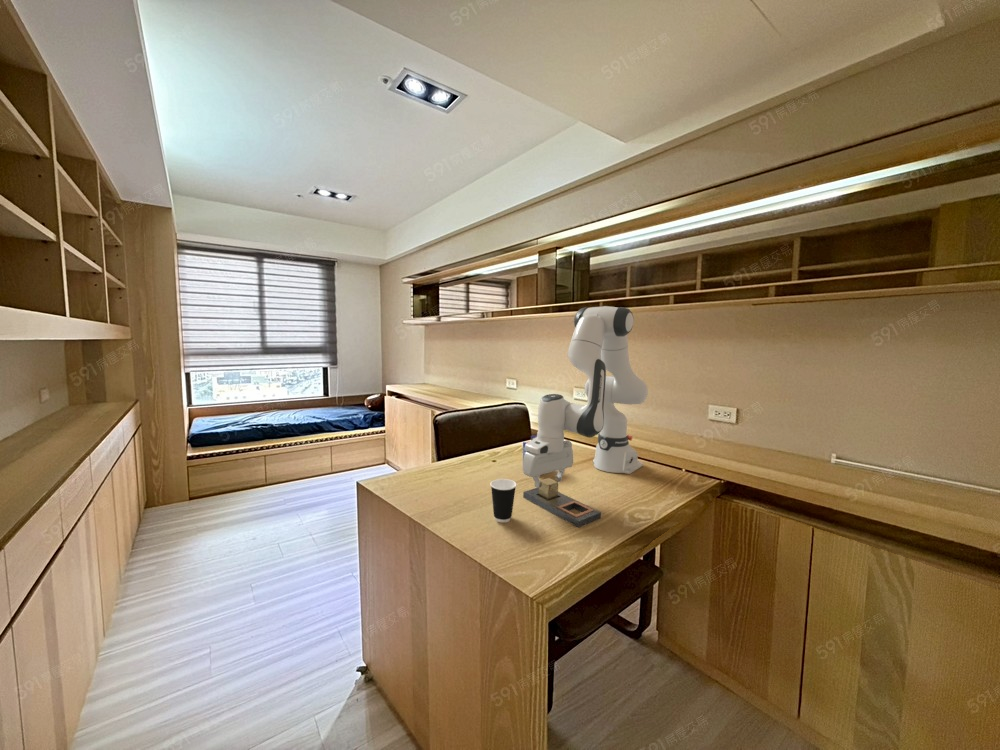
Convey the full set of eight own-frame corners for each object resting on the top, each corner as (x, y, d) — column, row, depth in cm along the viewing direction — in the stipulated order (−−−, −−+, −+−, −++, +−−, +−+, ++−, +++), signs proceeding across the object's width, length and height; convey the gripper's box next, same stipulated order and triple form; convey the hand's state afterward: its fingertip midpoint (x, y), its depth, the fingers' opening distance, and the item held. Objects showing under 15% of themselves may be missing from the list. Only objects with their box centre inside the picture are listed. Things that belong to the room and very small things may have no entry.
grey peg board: (544, 490, 136) (544, 484, 136) (600, 518, 116) (601, 511, 116) (523, 497, 130) (523, 491, 130) (578, 527, 110) (579, 520, 110)
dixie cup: (484, 518, 115) (484, 483, 114) (503, 510, 120) (503, 476, 119) (502, 528, 109) (503, 491, 108) (521, 519, 115) (522, 484, 114)
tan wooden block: (548, 497, 131) (548, 477, 130) (557, 502, 127) (558, 482, 126) (538, 500, 128) (539, 480, 127) (547, 505, 124) (548, 485, 124)
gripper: (564, 437, 134) (563, 475, 135) (520, 445, 122) (519, 487, 123) (578, 441, 129) (576, 480, 130) (534, 450, 117) (532, 493, 118)
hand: (548, 484), depth 127 cm, fingers open, 8 cm apart
